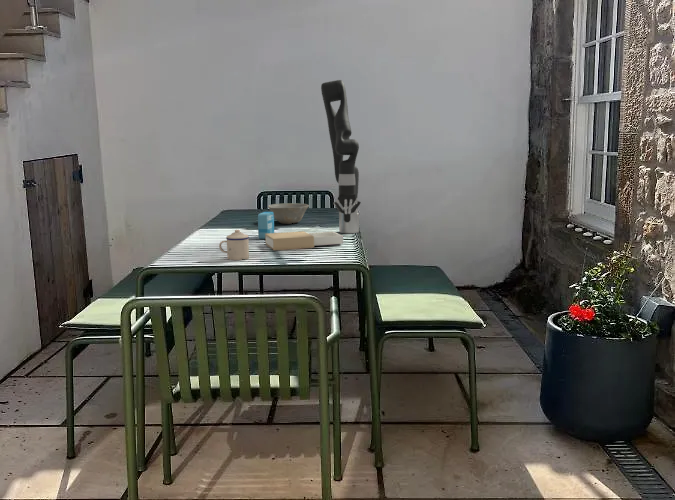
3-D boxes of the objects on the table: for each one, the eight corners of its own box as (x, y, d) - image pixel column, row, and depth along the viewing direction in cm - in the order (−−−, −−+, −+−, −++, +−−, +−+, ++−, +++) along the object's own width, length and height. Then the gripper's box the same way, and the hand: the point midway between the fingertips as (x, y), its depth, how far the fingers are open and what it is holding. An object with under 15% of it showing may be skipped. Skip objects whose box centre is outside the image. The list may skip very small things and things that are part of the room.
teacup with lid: (251, 256, 271) (250, 228, 269) (247, 260, 262) (246, 231, 260) (222, 256, 271) (220, 228, 269) (217, 260, 262) (216, 231, 260)
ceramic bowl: (260, 224, 365) (259, 206, 363) (284, 219, 384) (284, 202, 382) (292, 227, 353) (292, 208, 352) (316, 221, 373) (316, 204, 371)
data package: (267, 239, 312) (266, 214, 310) (258, 239, 313) (257, 214, 311) (274, 235, 324) (273, 211, 322) (265, 235, 325) (264, 211, 323)
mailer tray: (333, 239, 307) (333, 231, 307) (343, 243, 294) (343, 235, 294) (266, 243, 297) (265, 235, 297) (273, 248, 284) (272, 240, 284)
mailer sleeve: (303, 242, 304) (303, 231, 303) (313, 247, 289) (313, 236, 288) (265, 244, 298) (265, 233, 297) (273, 250, 283) (273, 238, 283)
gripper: (358, 183, 303) (357, 220, 306) (330, 183, 299) (330, 221, 302) (363, 184, 296) (363, 222, 299) (335, 184, 292) (335, 223, 295)
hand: (346, 222), depth 301 cm, fingers closed
